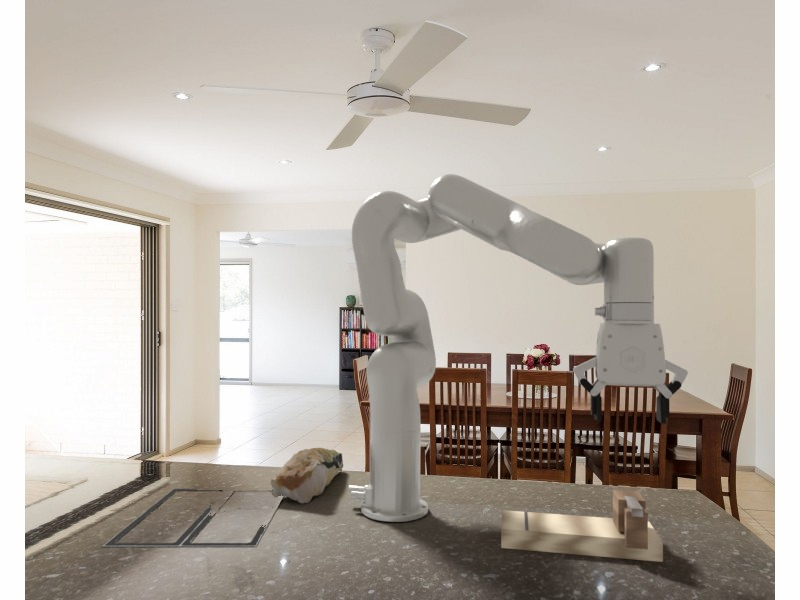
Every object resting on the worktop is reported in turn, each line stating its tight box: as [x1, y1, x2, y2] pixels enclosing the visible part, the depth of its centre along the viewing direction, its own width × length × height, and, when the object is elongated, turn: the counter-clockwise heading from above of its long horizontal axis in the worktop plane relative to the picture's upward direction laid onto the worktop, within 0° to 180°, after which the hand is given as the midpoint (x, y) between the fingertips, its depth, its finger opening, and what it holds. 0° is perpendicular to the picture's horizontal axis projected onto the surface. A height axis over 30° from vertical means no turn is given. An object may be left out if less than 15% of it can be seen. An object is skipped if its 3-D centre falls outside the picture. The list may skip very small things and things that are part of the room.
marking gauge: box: [612, 489, 649, 549], centre depth 89 cm, size 4×9×6 cm, turn 169°
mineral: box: [270, 447, 344, 504], centre depth 123 cm, size 26×9×10 cm
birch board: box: [500, 509, 664, 563], centre depth 93 cm, size 24×9×3 cm, turn 79°
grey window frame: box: [102, 488, 267, 548], centre depth 105 cm, size 24×1×30 cm
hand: (629, 421), depth 92 cm, fingers open, 9 cm apart
